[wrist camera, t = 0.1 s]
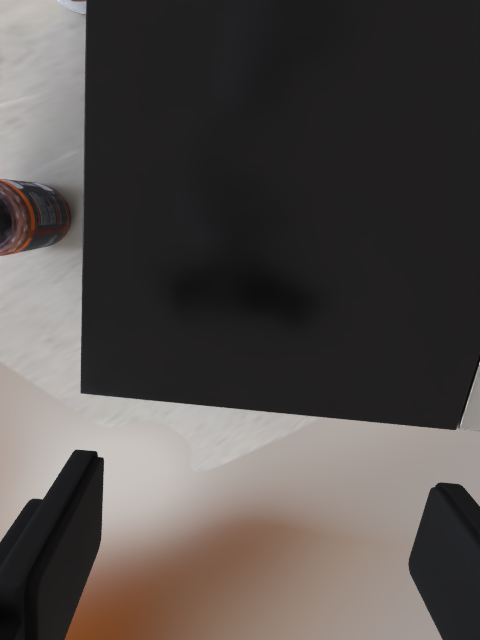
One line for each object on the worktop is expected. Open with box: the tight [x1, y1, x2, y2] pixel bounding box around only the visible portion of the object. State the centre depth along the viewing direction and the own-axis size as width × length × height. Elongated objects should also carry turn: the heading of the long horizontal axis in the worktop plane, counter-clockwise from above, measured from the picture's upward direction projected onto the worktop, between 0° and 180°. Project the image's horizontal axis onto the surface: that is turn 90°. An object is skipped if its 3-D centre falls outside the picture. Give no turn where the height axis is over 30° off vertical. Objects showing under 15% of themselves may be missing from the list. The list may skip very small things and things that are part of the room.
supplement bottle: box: [0, 179, 70, 256], centre depth 33 cm, size 6×6×11 cm
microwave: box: [81, 0, 480, 430], centre depth 28 cm, size 24×30×20 cm
